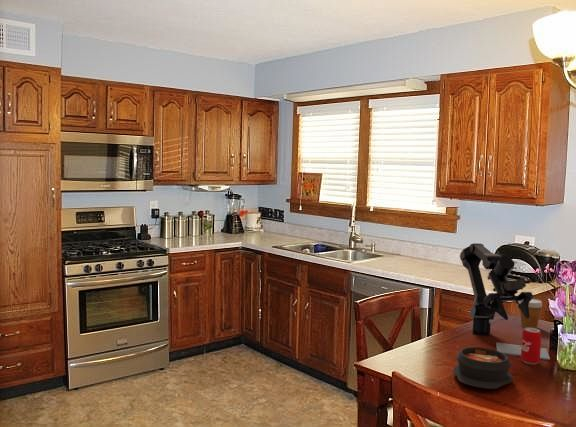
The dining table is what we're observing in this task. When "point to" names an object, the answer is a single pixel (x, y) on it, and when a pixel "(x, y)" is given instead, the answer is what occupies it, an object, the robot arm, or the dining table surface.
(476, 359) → the casserole
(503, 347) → the slate mat
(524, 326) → the disposable coffee cup
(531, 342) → the beverage can
